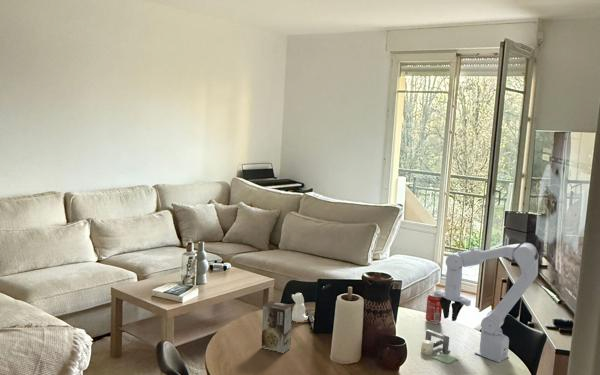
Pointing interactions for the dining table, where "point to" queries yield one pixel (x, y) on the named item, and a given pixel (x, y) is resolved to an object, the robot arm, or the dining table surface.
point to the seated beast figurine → (298, 308)
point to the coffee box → (276, 326)
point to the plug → (429, 346)
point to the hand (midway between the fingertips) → (450, 319)
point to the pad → (445, 358)
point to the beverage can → (433, 309)
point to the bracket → (440, 336)
